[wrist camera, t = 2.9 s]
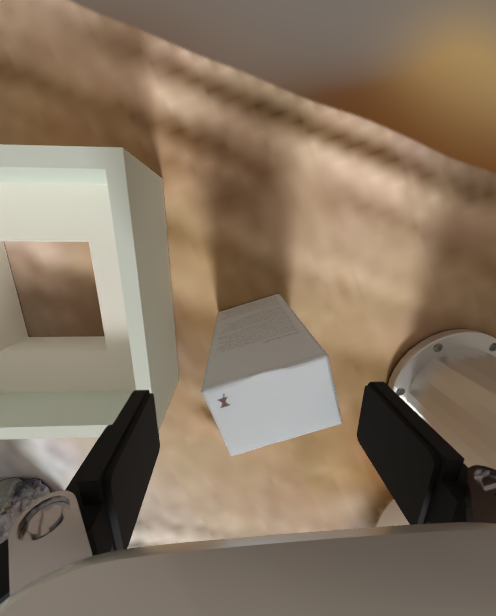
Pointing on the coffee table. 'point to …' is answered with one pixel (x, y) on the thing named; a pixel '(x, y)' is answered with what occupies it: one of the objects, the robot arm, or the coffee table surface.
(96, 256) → the peg box
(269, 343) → the skincare box
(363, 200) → the coffee table surface
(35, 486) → the mineral rock
